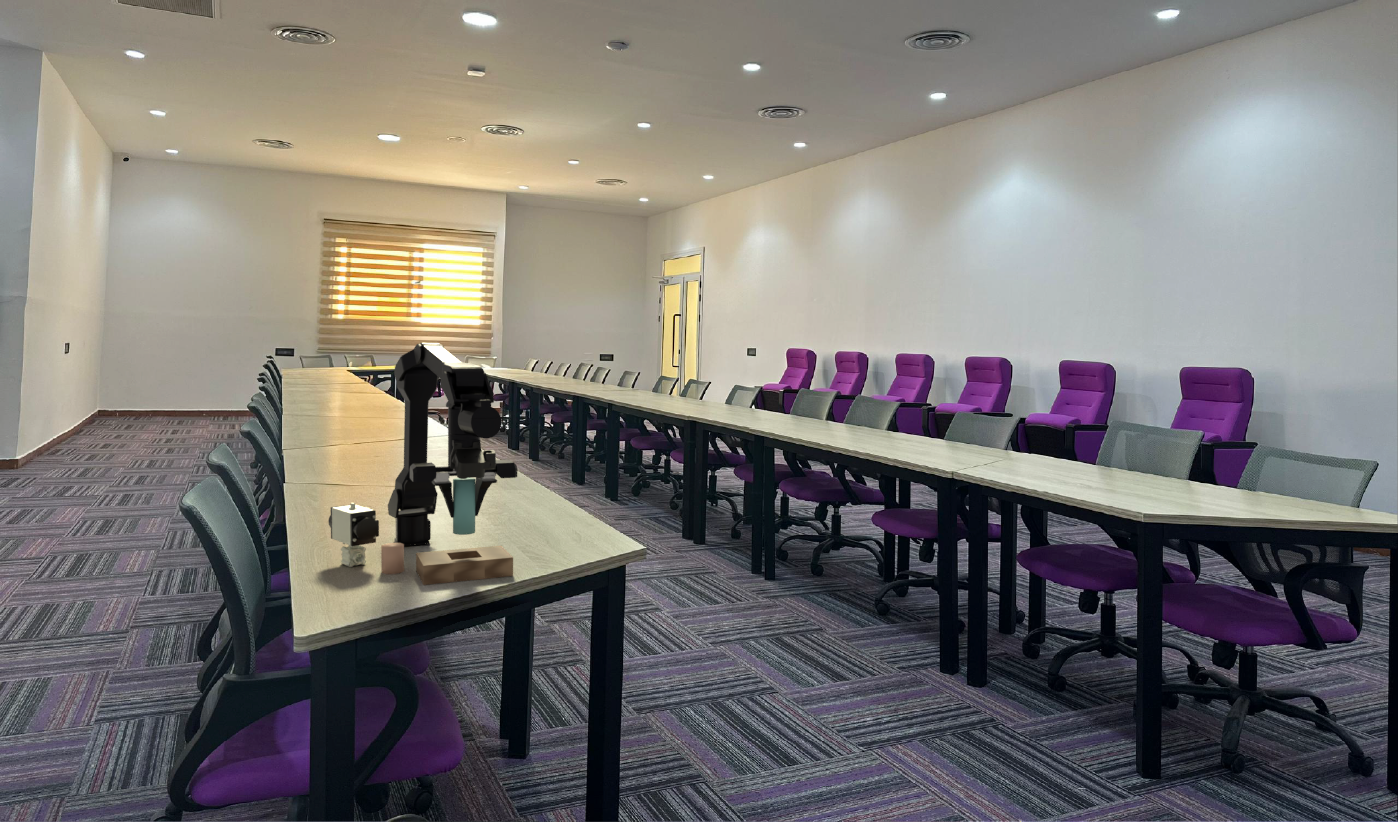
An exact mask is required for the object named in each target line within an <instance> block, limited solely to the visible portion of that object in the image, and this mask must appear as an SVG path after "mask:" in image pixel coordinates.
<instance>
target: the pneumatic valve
mask: <svg viewBox="0 0 1398 822" xmlns="http://www.w3.org/2000/svg"><path fill="white" fill-rule="evenodd" d="M376 513H377V512H376V510H374V509H372V508H371V507H368V506H365V507H364V506H362V505H358V504H356V503H355V502H350V504H345V505H344V504H343V505H339V506H338V505H337V506H331V507H330V515H329V518H328V521H327V522H328V526H329V528H330V539H332V540H333V541H337V542H340V543H342V545H344V546H342V547H341V548H340V551H341V560H340V563H341V565H344V566H346V567H349V568H352V567H354V566H359V565H362V566H364V565H366V562H367V561H366V550H367V548H366V547H364V546H363V545H369V544H374V543H377V537H380V520H378V519H377V517H376V516H377V515H376ZM345 545H348V546H345Z"/></svg>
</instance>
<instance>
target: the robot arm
mask: <svg viewBox="0 0 1398 822" xmlns="http://www.w3.org/2000/svg"><path fill="white" fill-rule="evenodd" d="M393 373H394V377H395V381H396V387H397V389H398V390H397V391H398V392H399V393H400V394H401V396H402V398H403V399H404V425H403V426H404V427H403V431H404V435H403V468H402V469H401V471H400V472H399V474H398V475H397V477H396V478H395V481H394V489H393V490H392V493H391V496H390V497H389V498H390V499H389V501H388V502H387V512H388V515H389V516H390V517H392V518H394V519H395V538H394V539H393V540H394V543H402V544H404V547H412V546H413V547H414V546H421V545H423V546H424V545H430V540H431V536H432V535H431V534H432V533H431V528H432V527H431V520H430V519H429V515H435V513H436V509H437V508H436V507H437V501H438V492H437V488H436V487H438V488H439V490H440V491H441V494H442V496H443V498H444V502H445V505H446V506H447V507H446V508H447V509H448V510H447V511H448V513H449V515H450V517H451V518H452V519H453V517H454V506H453V482H451V481H450V477H456V478H460V479H466V478H475V517H478V515H479V512H480V510H481V507H482V504H483V501H484V498H485V497H486V494H487V491H488V490H489V488H490V487H491V486H492V484H497V483H498V480H497V479H496V476H498V477H499V478H501V479H513V478H514V479H515V478H518V465H517V463H515V462H514V461H512V460H510V459H496V458H497V457H496V451H495V449H485V450H482V446H481V439H485V440H486V439H492V438H493V437H495V436H497V434H498V433H500V431H501V428H502V424H503V420H502V416H501V414H500V413H499V411H498V410H497V409H496V408H494V407H493V406H492V404H493V403H494V402H495V399H494V395H495V393H494V390H493V388H492V386H491V383H490V382H489V379H488V376H487V373H486V372H485V370H484V368H483V367H482V366H481V365H478V364H474V363H468V362H464V361H460V359H458V358H456V356H454V355H453V354H452V353H450V352H449V350H446V349H445V346H444V345H443V344H441V343H439V342H420V343H417V344H416V345H415V346H414V348H413V349H412V350H409V351H408V352H406V353H404V354H403V355H401V356H400V357H399V358H398V360H397V362H396V364H395V366H394V372H393ZM439 380H440V389H442V391H443V394H444V396H445V397H446V399H447V402H446V403H445V407H446V408H447V433H448V434H447V453H448V454H447V462H448V463H447V465H446V466H445V465H444V466H436V465H435V464H434V463H433V462H428V437H429V435H428V433H429V402H430V400H431V399H432V397H433V396H434V394H435V392H436V391H437V388H438V381H439Z"/></svg>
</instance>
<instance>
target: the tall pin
mask: <svg viewBox="0 0 1398 822" xmlns="http://www.w3.org/2000/svg"><path fill="white" fill-rule="evenodd" d="M475 483H476V478H475V477H473V478H466V479H460V478H458V477H456V478H453V479H452V497H453V506H454V517H453V518H452V534H454V535H458V536H459V535H460V536H464V535H466V536H467V535H472V534H473V535H474V534H475V533H476V516H475Z"/></svg>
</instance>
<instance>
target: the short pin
mask: <svg viewBox="0 0 1398 822" xmlns="http://www.w3.org/2000/svg"><path fill="white" fill-rule="evenodd" d="M380 547H381V548H380V554H381V555H380V558H381V561H380V562H381V571H380V573H381V574H383V575H396V574H397V575H398V574H403V573H404V572H405V546H404V544H402V543H395V542H388V543H387V542H386V543H383V544H381V546H380Z"/></svg>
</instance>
